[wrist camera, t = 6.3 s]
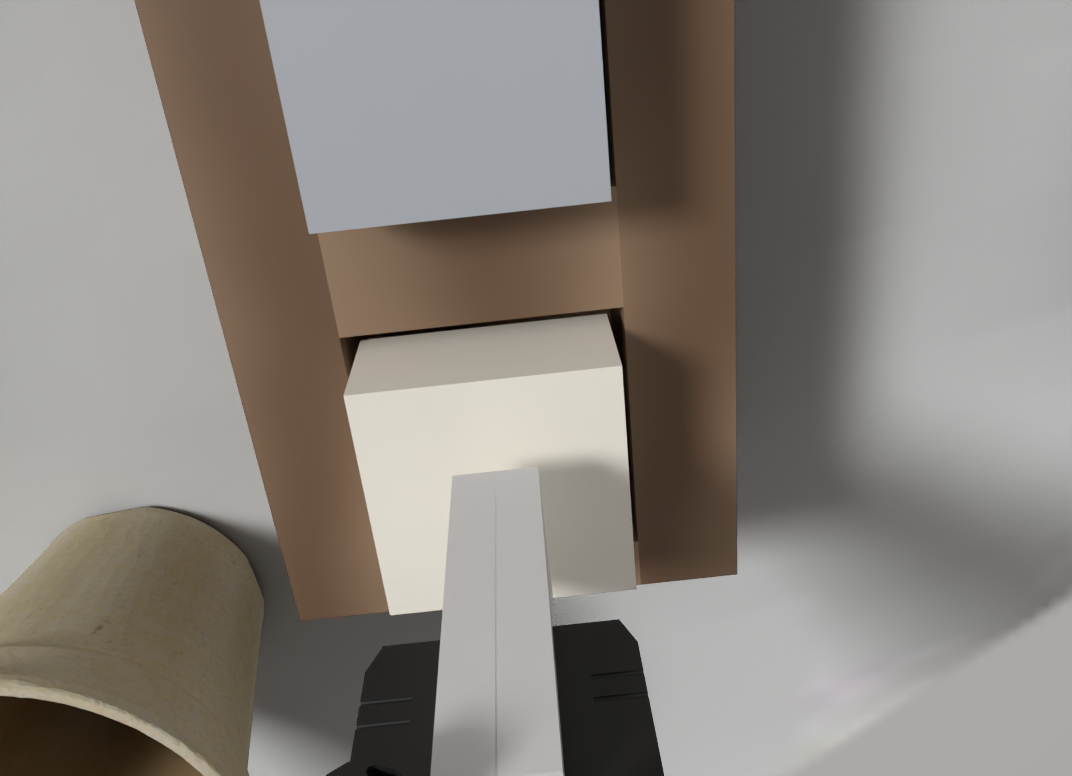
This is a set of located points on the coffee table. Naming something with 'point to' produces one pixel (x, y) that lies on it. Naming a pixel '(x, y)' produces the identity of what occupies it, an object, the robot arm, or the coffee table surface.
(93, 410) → the coffee table surface
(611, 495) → the cream key
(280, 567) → the coffee table surface
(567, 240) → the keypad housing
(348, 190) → the slate grey key
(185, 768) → the flower pot
